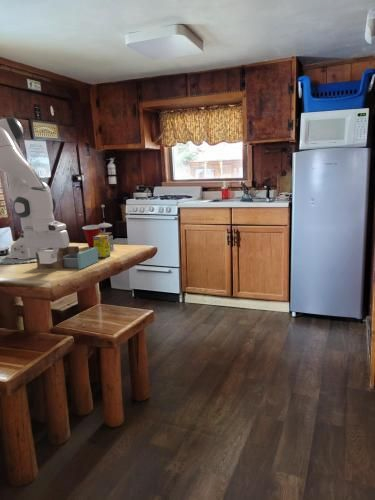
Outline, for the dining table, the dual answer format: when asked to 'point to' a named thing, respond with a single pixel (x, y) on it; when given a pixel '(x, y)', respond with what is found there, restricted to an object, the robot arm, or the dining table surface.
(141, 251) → the dining table surface
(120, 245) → the dining table surface
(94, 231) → the plastic cup
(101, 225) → the french press
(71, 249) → the brown wooden crate
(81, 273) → the dining table surface
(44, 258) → the block
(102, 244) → the yellow cylinder
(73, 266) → the tray
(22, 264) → the dining table surface
